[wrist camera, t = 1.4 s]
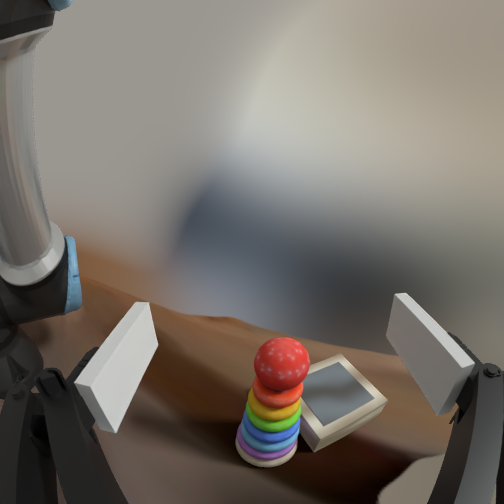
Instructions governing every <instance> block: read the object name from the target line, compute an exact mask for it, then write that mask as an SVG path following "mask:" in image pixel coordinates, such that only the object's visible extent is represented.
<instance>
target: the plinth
mask: <svg viewBox="0 0 504 504" xmlns="http://www.w3.org/2000/svg"><path fill="white" fill-rule="evenodd" d="M302 383H303V392H302V395H301V404H300V405H301V415H300V425H299V433H300V434H301V435H302V437H303V438H304V440H305V441H306V442H307V444H308V445H309V447H310V448H311V449H312V451H313V452H315V451H317V450H319V449H321V448H323V447H325V446H327V445H329V444H331V443H333V442H335V441H337V440H339V439H340V438H342V437H344V436H346V435H348V434H349V433H351V432H353V431H354V430H356V429H358V428H359V427H361V426H363V425H364V424H366V423H368V422H369V421H371V420H372V419H374V418H375V417H377V416H378V415H379V414H380V412H381V411H382V409H383V407H384V406H385V404H386V403H387V401H388V400H387V399H386V398H385V397H384V396H383V395H382V394H381V393H380V392H379V391H378V390H377V389H376V388H375V387H374V386H373V385H372V384H371V383H370V382H369V381H368V380H367V379H366V378H365V377H363V376H362V375H361V374H360V373H359V372H358V371H357V370H356V369H355V368H354V367H353V366H352V365H351V364H350V363H349V362H348V361H347V360H346V359H345V358H344V357H343V356H342V355H341V354H338V355H336V356H333V357H331V358H328V359H326V360H323V361H321V362H318V363H316V364H313V365H310V367H309V371H308V374H307V376H306V377H305V379H304V380H303V381H302Z"/></svg>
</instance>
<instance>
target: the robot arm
mask: <svg viewBox="0 0 504 504" xmlns="http://www.w3.org/2000/svg"><path fill="white" fill-rule="evenodd" d="M71 3H72V0H0V398H1V399H5V401H4V404H3V407H2V411H1V415H0V504H58V498H57V482H56V471H57V474H58V478H59V481H60V484H61V487H62V490H63V493H64V496H65V499H66V502H67V504H128V502H127V500H126V498H125V497H124V495H123V493H122V491H121V489H120V487H119V485H118V483H117V481H116V479H115V477H114V475H113V473H112V471H111V469H110V467H109V465H108V462H107V460H106V458H105V456H104V453H103V451H102V449H101V446H100V444H99V441H98V439H97V436H96V433H95V431H94V430H93V428H92V426H93V424H94V422H95V421H96V423H97V424H98V426H99V428H100V429H101V430H105V431H108V432H112V433H116V432H117V430H118V428H119V426H120V423H121V421H122V419H123V417H124V415H125V412H126V410H127V408H128V406H129V404H130V402H131V400H132V397H133V395H134V393H135V391H136V389H137V387H138V385H139V383H140V381H141V379H142V377H143V375H144V372H145V370H146V368H147V366H148V364H149V362H150V360H151V358H152V356H153V354H154V352H155V350H156V348H157V346H158V342H157V338H156V334H155V330H154V325H153V321H152V316H151V312H150V307H149V302H135V304H134V305H133V306H132V307H131V309H130V310H129V311H128V312H127V314H126V315H125V316H124V317H123V319H122V320H121V321H120V322H119V324H118V325H117V326H116V327H115V329H114V330H113V331H112V332H111V334H110V335H109V336H108V338H107V339H106V340H105V342H104V343H103V344H102V345H101V347H94V348H93V349H91V350H90V351H89V352H87V353H86V354H85V356H84V357H83V358H82V361H80V362H79V363H78V366H76V367H75V369H74V370H73V371H72V373H71V374H70V375H69V377H68V378H67V379H66V381H65V379H64V377H63V375H62V373H61V371H60V370H58V369H57V368H46V369H44V370H43V358H42V356H41V354H40V352H39V350H38V348H37V346H36V345H35V343H34V342H32V341H31V340H30V339H29V337H28V336H27V335H26V334H25V333H24V331H23V330H22V329H21V328H20V327H19V325H18V324H22V323H27V322H31V321H36V320H40V319H44V318H49V317H54V316H58V315H65V314H66V313H69V312H72V311H76V310H78V309H79V308H80V307H81V305H82V293H81V286H80V279H79V272H78V262H77V254H76V247H75V240H74V238H73V237H71V236H63V234H62V231H61V230H60V228H59V227H58V226H57V225H56V224H55V223H53V222H51V221H49V219H48V214H47V210H46V206H45V201H44V196H43V191H42V186H41V181H40V174H39V168H38V161H37V154H36V145H35V135H34V120H33V66H34V52H35V47H36V45H37V44H38V42H39V41H40V40H41V39H42V38H43V37H44V36H45V35H46V34H47V33H48V32H49V31H50V30H51V28H52V25H53V19H54V14H55V11H60V10H63V9H65V8H67V7H69V6H70V5H71ZM386 337H387V339H388V340H389V342H390V343H391V344H392V346H393V348H394V349H395V350H396V352H397V353H398V355H399V356H400V358H401V359H402V361H403V362H404V364H405V366H406V367H407V369H408V370H409V372H410V373H411V375H412V376H413V378H414V379H415V381H416V383H417V384H418V386H419V387H420V389H421V390H422V392H423V394H424V395H425V397H426V399H427V400H428V402H429V403H430V405H431V407H432V408H433V410H434V412H435V413H436V415H437V416H439V415H442V414H445V413H447V412H450V411H451V409H452V407H453V406H454V404H455V402H456V403H457V404H458V406H459V407H458V409H457V411H456V412H455V414H454V416H453V417H452V419H451V421H450V423H449V424H451V423H452V422H453V420H454V424H453V428H452V432H451V436H450V440H449V444H448V447H447V451H446V454H445V458H444V461H443V464H442V467H441V470H440V473H439V475H438V478H437V481H436V484H435V486H434V489H433V491H432V494H431V496H430V498H429V501H428V503H427V504H490V503H491V500H492V496H493V492H494V487H495V483H496V504H504V371H501V369H500V368H499V367H498V366H496V365H494V364H491V363H485V364H482V363H481V362H480V361H479V360H478V358H476V356H475V355H474V354H473V353H472V352H471V351H470V350H469V349H467V347H466V346H465V345H464V344H463V343H462V342H461V341H460V340H459V339H458V337H456V336H454V335H452V334H451V333H449V332H448V333H446V332H445V331H444V330H443V329H442V328H441V327H440V326H439V325H438V324H437V322H435V320H434V319H432V318H431V317H430V316H429V315H428V314H427V313H426V312H425V311H424V310H423V309H422V308H421V307H420V306H419V305H418V304H417V303H416V302H415V301H414V300H413V299H412V298H411V297H410V296H409V295H408V294H407V293H401V294H395V295H394V300H393V305H392V311H391V315H390V320H389V325H388V329H387V334H386ZM34 385H36V387H37V389H38V391H39V392H40V393H32V392H31V389H32V388H33V387H34Z"/></svg>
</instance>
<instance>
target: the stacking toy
mask: <svg viewBox="0 0 504 504" xmlns="http://www.w3.org/2000/svg"><path fill="white" fill-rule="evenodd" d="M309 367H310V359H309V355H308V352H307V351H306V349H305V348H304V346H303V345H302V344H301V343H299V342H298V341H296V340H294V339H291V338H287V337H278V338H274V339H271V340H269V341H267V342H266V343H264V344H263V345H262V346H261V347H260V349H259V350H258V352H257V354H256V356H255V360H254V368H255V372H256V375H257V376H256V377H255V379H254V381H253V385H252V388H251V390H250V392H249V394H248V401H247V404H246V409H245V411H244V414H243V419H242V422H241V424H240V425H239V427H238V430H237V436H236V448H237V451H238V453H239V454H240V456H241V457H242V458H243V459H244V460H246V461H247V462H249V463H250V464H253V465H255V466H259V467H274V466H278V465H281V464H283V463H285V462H286V461H288V460H289V459H290V458H291V457H292V456H293V455H294V453H295V451H296V449H297V444H298V440H297V437H298V434H299V425H300V415H301V405H300V404H301V395H302V392H303V383H302V381H303V380H304V379H305V377H306V376H307V374H308V371H309Z"/></svg>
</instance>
